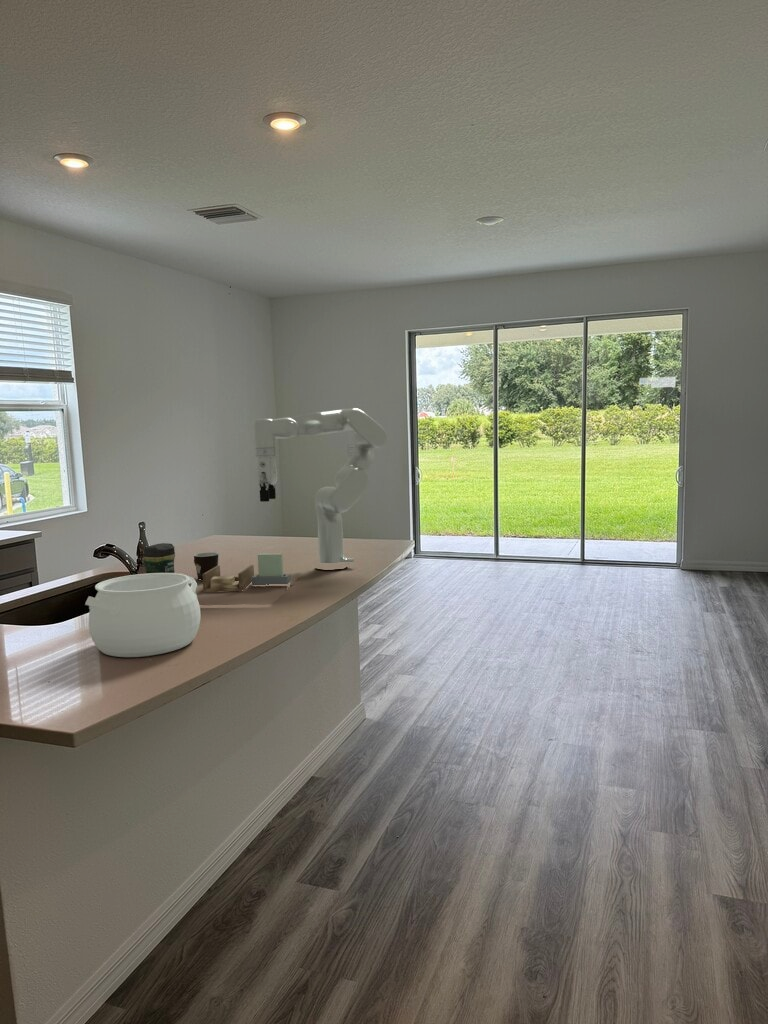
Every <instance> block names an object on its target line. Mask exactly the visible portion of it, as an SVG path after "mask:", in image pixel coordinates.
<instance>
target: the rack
mask: <svg viewBox="0 0 768 1024" xmlns="http://www.w3.org/2000/svg"><path fill="white" fill-rule="evenodd" d="M254 568H255V567H254V565H253V564H251V565H249V566H247V567H246V568H244V569H242V571H241V572H239V573H237V575H238V576H235V581H239V588H211V579H212V578H213V577H219V576H221V566H220V565H218V566H216V567H214V568H212V569H211V570H209V571H207V572H205V573H204V574H202V575H203V581H202V588H203V589H202V590H203V591H202V592H203V593H218V592H217V591H242V590H244V589H245V588H246V587H247V586H248V585H249V584H250V583H251V582H252V577H253V576H254V575H255V570H254ZM245 590H246V589H245ZM245 590H244V591H245Z"/></svg>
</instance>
